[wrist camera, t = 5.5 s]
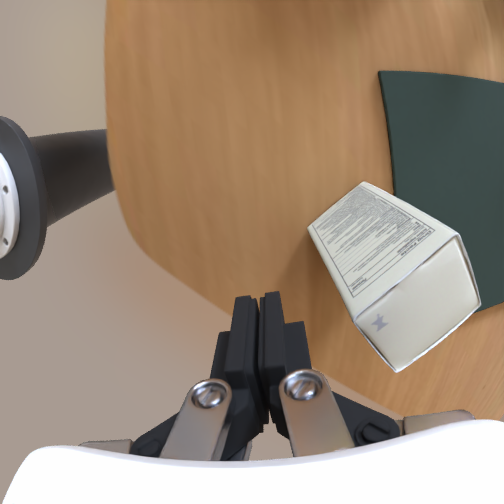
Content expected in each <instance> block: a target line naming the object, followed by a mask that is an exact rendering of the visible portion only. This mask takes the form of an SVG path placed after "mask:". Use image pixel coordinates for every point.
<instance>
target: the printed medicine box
mask: <svg viewBox="0 0 504 504" xmlns="http://www.w3.org/2000/svg"><path fill="white" fill-rule="evenodd" d="M307 230H308V232H309V234H310V236H311V238H312V240H313V242H314V244H315V246H316V248H317V250H318V251H319V253H320V255H321V258H322V260H323V261H324V263H325V265H326V267H327V269H328V271H329V273H330V275H331V277H332V279H333V281H334V283H335V285H336V287H337V289H338V291H339V293H340V295H341V297H342V299H343V302H344V304H345V306H346V308H347V310H348V312H349V315H350V317H351V319H352V321H353V323H354V324H355V326H356V327H357V328H358V330H359V331H360V332H361V334H362V335H363V336H364V337H365V338H366V340H367V341H368V342H369V344H370V345H371V346H372V347H373V349H374V350H375V351H376V352H377V353H378V354H379V356H380V357H381V358H382V359H383V360H384V361H385V362H386V363H387V364H388V365H389V367H390V368H392V369H393V370H394V371H395V372H400V371H401V370H403V369H404V368H406V367H407V366H409V365H410V364H411V363H413V362H414V361H416V360H417V359H418V358H420V357H421V356H422V355H424V354H425V353H427V352H428V351H429V350H430V349H432V348H433V347H434V346H436V345H437V344H438V343H440V342H441V341H442V340H444V338H446V337H447V336H448V335H449V334H450V333H452V332H453V331H454V330H455V329H456V328H457V327H459V326H460V325H461V324H462V323H463V322H464V321H465V320H466V319H468V317H469V316H470V315H471V314H472V313H474V311H475V310H477V309H478V308H479V307H480V306H481V300H480V296H479V292H478V288H477V284H476V281H475V277H474V273H473V270H472V267H471V264H470V260H469V258H468V255H467V252H466V250H465V247H464V245H463V242H462V239H461V237H460V235H459V234H458V233H457V232H456V231H454V230H452V229H451V228H449V227H448V226H446V225H444V224H443V223H441V222H440V221H438V220H436V219H434V218H433V217H431V216H429V215H428V214H426V213H424V212H422V211H420V210H419V209H417V208H415V207H413V206H411V205H410V204H408V203H406V202H404V201H402V200H400V199H398V198H397V197H395V196H393V195H391V194H389V193H387V192H385V191H383V190H381V189H379V188H377V187H375V186H373V185H371V184H369V183H367V182H362V183H360V184H359V185H358V186H357V187H355V188H354V189H353V190H352V191H350V192H349V193H348V194H347V195H345V196H344V197H343V198H342V199H340V200H339V201H338V202H337V203H335V204H334V205H333V206H332V207H331V208H329V209H328V210H327V211H326V212H325V213H323V214H322V215H321V216H320V217H319V218H318V219H316V220H315V221H314V222H313V223H312V224H311V225H310V226H308V228H307Z"/></svg>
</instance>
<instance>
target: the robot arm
mask: <svg viewBox="0 0 504 504" xmlns="http://www.w3.org/2000/svg"><path fill="white" fill-rule="evenodd" d="M19 223H20V207H19V199H18V192H17V188H16V184H15V180H14V178H13V175H12V172H11V170H10V167H9V165H8V163H7V161H6V160H5V158H4V157H3V155H2V154H1V153H0V259H1V258H2V257H4V256H5V255H7V254H8V253H9V252H10V251H11V250H12V248H13V247H14V245H15V242H16V240H17V236H18V232H19ZM269 411H270V415H271V418H272V422H273V423H275V424H276V428H277V432H278V433H280V434H281V435H282V436H284V437H286V438H287V439H289V441H290V445H291V449H292V453H293V458H283V459H271V460H256V461H249V456H250V452H251V448H252V439H253V438H254V437H256V436H257V435H258V434H259V433H263V424H268V423H269ZM2 504H504V423H503V422H500V421H495V420H476V419H475V417H474V416H473V415H472V414H471V413H470V412H468V411H465V410H453V411H447V412H440V413H433V414H425V415H417V416H407V417H404V418H403V420H393V419H392V418H390V417H388V416H386V415H384V414H381V413H379V412H377V411H374V410H372V409H370V408H368V407H365V406H363V405H361V404H359V403H356V402H354V401H352V400H350V399H348V398H346V397H343V396H341V395H339V394H337V393H335V392H333V391H331V388H330V386H329V384H328V381H327V379H326V378H325V376H324V375H323V374H322V373H320V372H319V371H316V370H313V369H312V367H311V361H310V355H309V349H308V343H307V338H306V332H305V326H304V321H300V322H293V323H287V324H285V322H284V316H283V310H282V304H281V298H280V293H279V291H276V292H269V293H265V297H260V313H259V308H258V304H257V300H256V298H254V299H251V296H250V295H249V296H241V297H236V299H235V305H234V311H233V317H232V324H231V330H230V331H225V332H220V333H219V335H218V340H217V345H216V350H215V355H214V360H213V365H212V370H211V375H210V379H206V380H203V381H200V382H198V383H197V384H195V385H194V386H193V387H192V388H191V389H190V390H189V392H188V393H187V396H186V398H185V400H184V402H183V405H182V407H181V409H180V411H179V412H178V413H177V414H175V415H173V416H172V417H170V418H169V419H167V420H166V421H164V422H163V423H161V424H160V425H158V426H157V427H155V428H153V429H152V430H150V431H148V432H147V433H145V434H143V435H142V436H140V437H139V438H138V439H137V440H136V441H134V442H133V441H132V440H131V439H125V440H111V441H88V442H84V443H82V444H80V445H78V446H71V445H56V446H49V447H43V448H39V449H37V450H35V451H33V452H31V453H30V454H29V455H28V456H27V457H26V459H25V460H24V461H23V463H22V464H21V466H20V468H19V469H18V471H17V473H16V475H15V477H14V478H13V480H12V483H11V485H10V487H9V489H8V492H7V493H6V496H5V498H4V501H3V503H2Z"/></svg>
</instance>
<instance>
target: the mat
mask: <svg viewBox="0 0 504 504" xmlns="http://www.w3.org/2000/svg"><path fill="white" fill-rule="evenodd" d="M378 75H379V80H380V85H381V90H382V96H383V101H384V107H385V113H386V120H387V127H388V134H389V142H390V151H391V160H392V171H393V184H394V196H395V197H397V198H398V199H400V200H402V201H404V202H406V203H408V204H410V205H411V206H413V207H415V208H417V209H419V210H420V211H422V212H424V213H426V214H428V215H429V216H431V217H433V218H434V219H436V220H438V221H440V222H441V223H443V224H444V225H446V226H448V227H449V228H451V229H452V230H454V231H456V232H457V233H458V234H459V235H460V237H461V239H462V242H463V245H464V247H465V250H466V252H467V255H468V258H469V260H470V264H471V267H472V270H473V273H474V277H475V281H476V284H477V288H478V292H479V296H480V300H481V306H480V307H479V308H478V309H477V310H475V311H474V313H476V312H478V311H481V310H484V309H487V308H489V307H492V306H495V305H497V304H500V303H502V302H504V83H500V82H495V81H489V80H484V79H478V78H472V77H465V76H457V75H449V74H439V73H427V72H411V71H378ZM472 314H473V313H472Z"/></svg>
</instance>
